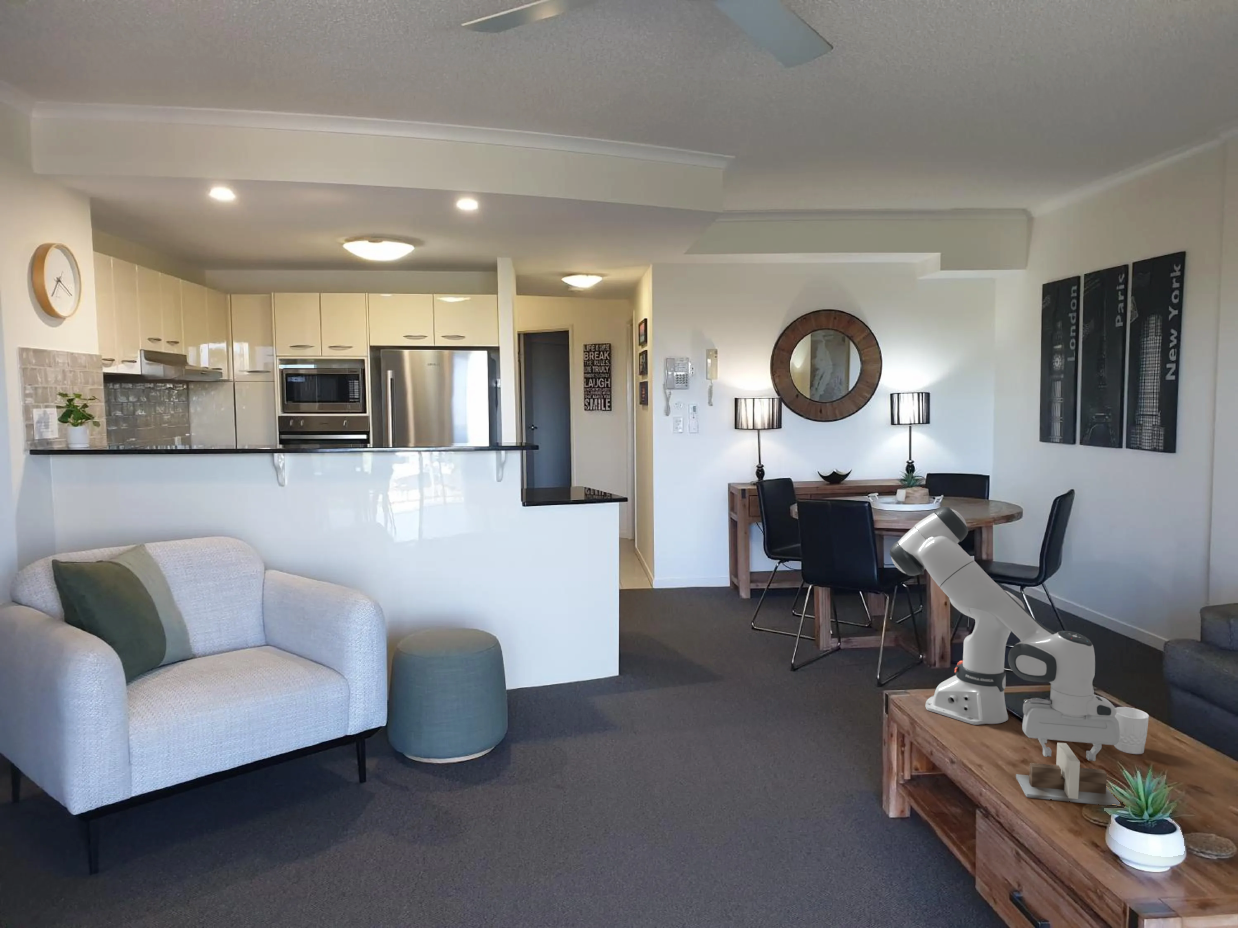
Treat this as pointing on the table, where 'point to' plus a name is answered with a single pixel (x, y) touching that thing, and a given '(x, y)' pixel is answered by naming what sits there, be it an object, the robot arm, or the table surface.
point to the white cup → (1132, 730)
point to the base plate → (1051, 785)
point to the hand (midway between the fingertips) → (1068, 757)
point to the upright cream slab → (1068, 769)
